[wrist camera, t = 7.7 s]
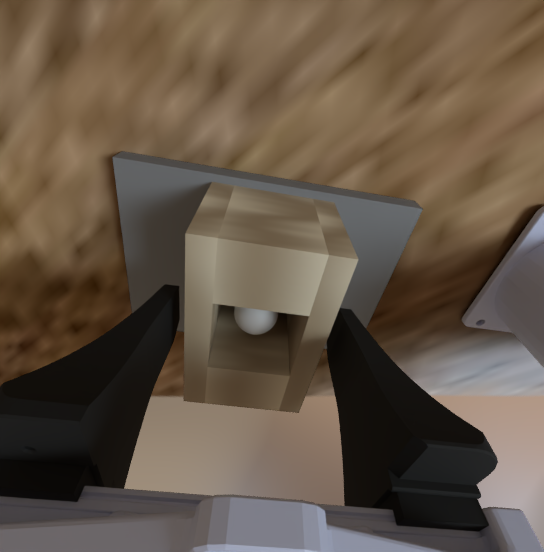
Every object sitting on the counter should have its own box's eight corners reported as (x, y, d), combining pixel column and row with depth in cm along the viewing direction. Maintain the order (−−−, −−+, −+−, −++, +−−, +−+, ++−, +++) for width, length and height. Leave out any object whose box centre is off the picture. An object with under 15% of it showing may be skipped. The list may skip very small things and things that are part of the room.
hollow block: (334, 202, 14) (358, 259, 10) (293, 337, 19) (298, 412, 15) (212, 181, 14) (185, 233, 10) (203, 326, 19) (183, 400, 15)
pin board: (414, 200, 15) (467, 252, 11) (351, 341, 21) (370, 409, 17) (122, 151, 14) (58, 188, 10) (139, 314, 20) (103, 381, 15)
